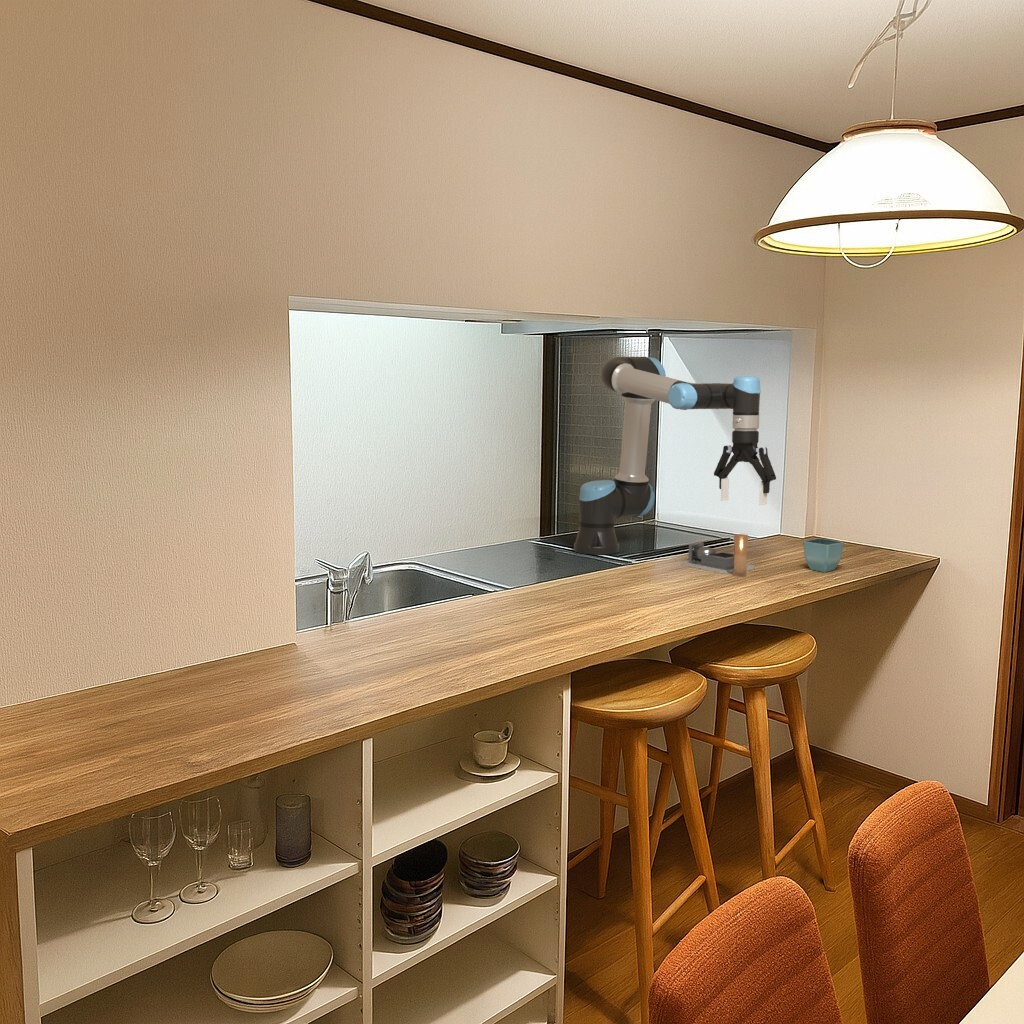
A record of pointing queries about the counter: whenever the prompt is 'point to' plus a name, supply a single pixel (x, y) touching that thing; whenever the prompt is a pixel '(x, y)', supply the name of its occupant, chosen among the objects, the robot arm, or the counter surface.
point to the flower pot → (823, 554)
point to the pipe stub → (740, 555)
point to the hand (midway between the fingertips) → (743, 502)
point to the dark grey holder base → (710, 559)
